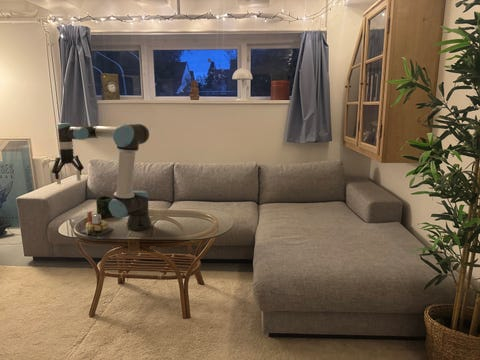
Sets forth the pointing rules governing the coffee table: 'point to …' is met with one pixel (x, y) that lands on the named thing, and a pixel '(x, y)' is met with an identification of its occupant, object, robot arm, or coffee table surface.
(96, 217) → the spindle base
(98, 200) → the mug
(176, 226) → the coffee table surface
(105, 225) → the toothed crank wheel
